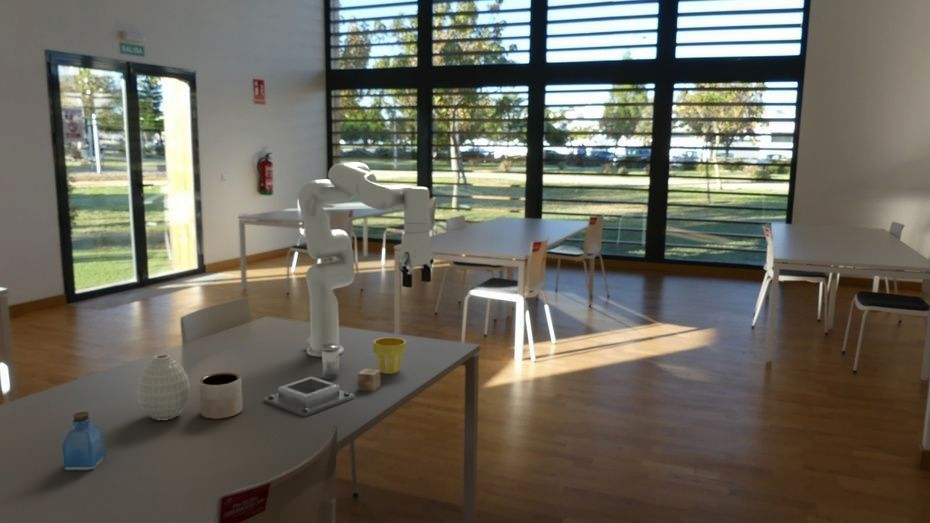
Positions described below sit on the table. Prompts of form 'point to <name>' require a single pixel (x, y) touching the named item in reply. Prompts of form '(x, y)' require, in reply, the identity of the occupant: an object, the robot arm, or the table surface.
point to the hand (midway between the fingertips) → (416, 284)
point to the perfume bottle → (83, 443)
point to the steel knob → (330, 360)
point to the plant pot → (389, 354)
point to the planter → (220, 395)
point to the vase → (163, 388)
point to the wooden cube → (369, 379)
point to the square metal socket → (308, 396)
